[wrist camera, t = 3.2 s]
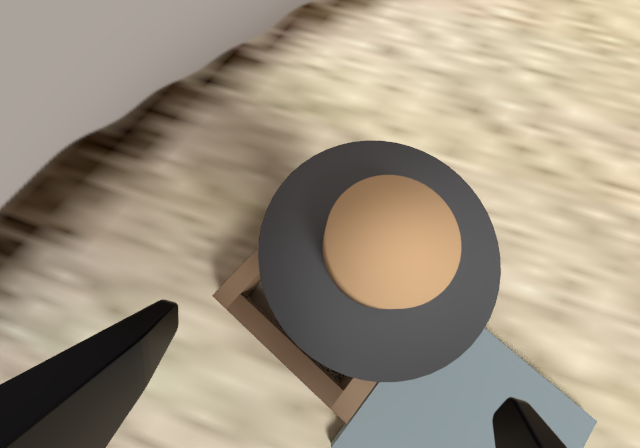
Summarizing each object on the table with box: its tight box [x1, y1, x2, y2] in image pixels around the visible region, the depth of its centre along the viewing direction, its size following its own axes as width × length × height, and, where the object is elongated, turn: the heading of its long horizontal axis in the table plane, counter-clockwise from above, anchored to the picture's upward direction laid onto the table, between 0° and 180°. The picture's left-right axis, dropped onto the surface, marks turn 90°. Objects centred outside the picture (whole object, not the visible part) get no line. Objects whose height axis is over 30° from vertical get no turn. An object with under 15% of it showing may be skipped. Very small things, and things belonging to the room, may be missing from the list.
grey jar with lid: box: [258, 141, 501, 382], centre depth 12 cm, size 5×5×14 cm
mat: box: [331, 328, 597, 448], centre depth 16 cm, size 10×10×1 cm
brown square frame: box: [213, 247, 377, 424], centre depth 17 cm, size 9×9×2 cm
